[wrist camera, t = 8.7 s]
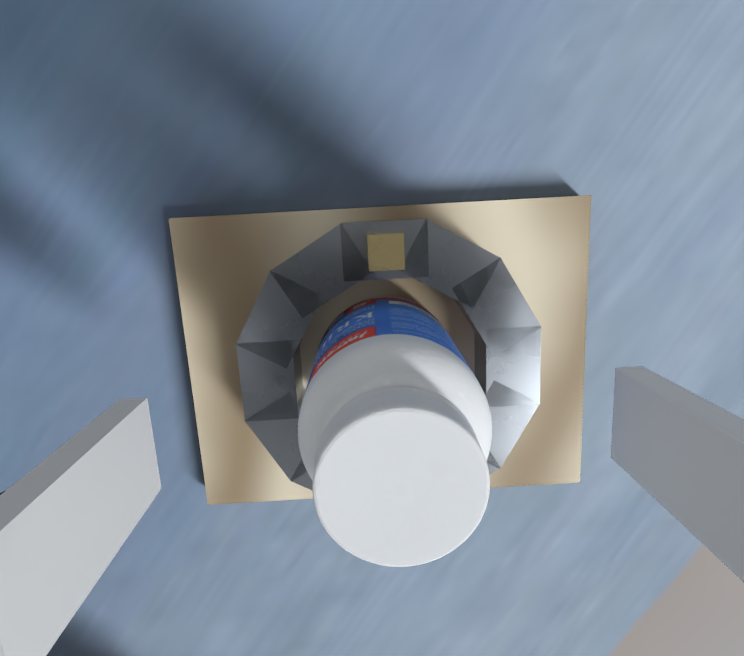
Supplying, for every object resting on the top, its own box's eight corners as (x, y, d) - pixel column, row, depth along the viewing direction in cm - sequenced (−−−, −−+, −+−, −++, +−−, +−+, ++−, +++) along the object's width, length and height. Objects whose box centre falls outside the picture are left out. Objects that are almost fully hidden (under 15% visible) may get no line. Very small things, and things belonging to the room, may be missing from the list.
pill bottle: (355, 269, 20) (352, 324, 11) (475, 331, 21) (574, 435, 11) (294, 389, 21) (240, 537, 12) (410, 444, 22) (450, 627, 12)
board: (214, 492, 23) (208, 504, 22) (177, 217, 20) (168, 218, 19) (570, 471, 23) (579, 482, 22) (580, 195, 21) (591, 195, 20)
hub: (264, 490, 22) (251, 530, 19) (236, 227, 20) (216, 230, 17) (522, 475, 22) (545, 512, 19) (525, 211, 20) (552, 211, 17)
